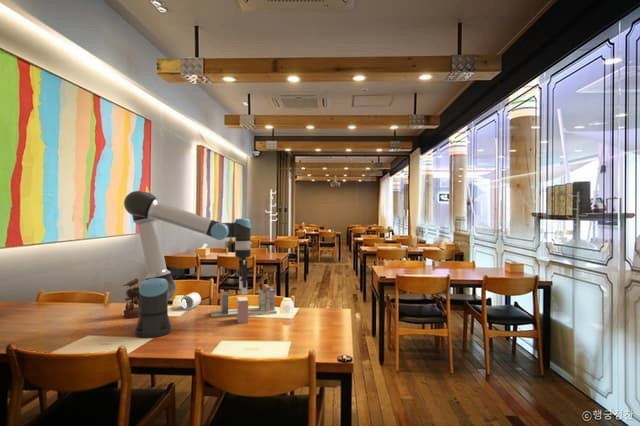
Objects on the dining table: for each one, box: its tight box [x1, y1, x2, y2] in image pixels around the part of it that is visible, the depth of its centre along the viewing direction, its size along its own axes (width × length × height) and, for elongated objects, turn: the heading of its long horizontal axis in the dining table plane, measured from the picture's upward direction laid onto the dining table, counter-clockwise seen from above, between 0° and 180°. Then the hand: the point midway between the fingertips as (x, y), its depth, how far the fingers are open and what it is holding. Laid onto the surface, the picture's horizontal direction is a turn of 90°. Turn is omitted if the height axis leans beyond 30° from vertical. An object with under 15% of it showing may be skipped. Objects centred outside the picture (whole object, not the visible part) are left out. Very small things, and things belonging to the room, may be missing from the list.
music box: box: [122, 277, 140, 320], centre depth 198 cm, size 15×11×20 cm
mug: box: [180, 291, 202, 311], centre depth 215 cm, size 12×10×8 cm
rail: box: [210, 284, 278, 319], centre depth 204 cm, size 11×34×14 cm, turn 106°
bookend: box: [221, 291, 229, 314], centre depth 201 cm, size 9×3×10 cm, turn 16°
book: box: [236, 296, 249, 324], centre depth 189 cm, size 9×5×11 cm, turn 16°
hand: (243, 291), depth 189 cm, fingers open, 13 cm apart
